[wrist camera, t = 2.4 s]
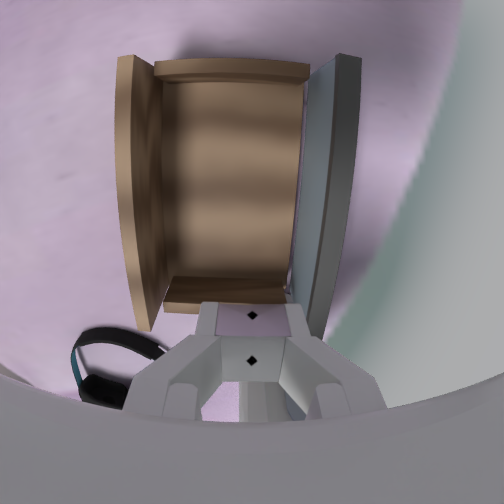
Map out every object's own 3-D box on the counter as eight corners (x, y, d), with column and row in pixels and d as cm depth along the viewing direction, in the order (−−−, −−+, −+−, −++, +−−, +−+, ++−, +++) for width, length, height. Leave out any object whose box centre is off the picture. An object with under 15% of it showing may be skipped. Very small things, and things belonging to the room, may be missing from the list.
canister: (304, 283, 35) (384, 546, 7) (309, 342, 39) (359, 552, 12) (223, 296, 35) (206, 568, 8) (238, 353, 39) (241, 568, 12)
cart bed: (160, 78, 24) (117, 57, 14) (298, 80, 25) (329, 57, 15) (164, 271, 33) (138, 330, 23) (282, 275, 34) (297, 336, 24)
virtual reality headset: (97, 406, 45) (80, 440, 35) (72, 311, 39) (41, 342, 30) (187, 423, 46) (180, 464, 36) (181, 327, 40) (166, 368, 31)
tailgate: (306, 76, 22) (339, 53, 14) (322, 78, 22) (361, 58, 14) (288, 288, 31) (303, 347, 23) (301, 288, 31) (320, 347, 23)
